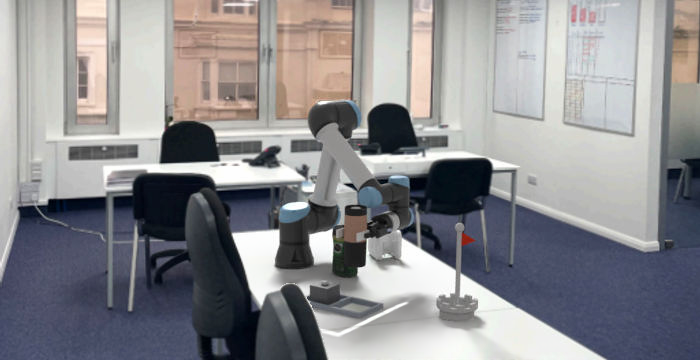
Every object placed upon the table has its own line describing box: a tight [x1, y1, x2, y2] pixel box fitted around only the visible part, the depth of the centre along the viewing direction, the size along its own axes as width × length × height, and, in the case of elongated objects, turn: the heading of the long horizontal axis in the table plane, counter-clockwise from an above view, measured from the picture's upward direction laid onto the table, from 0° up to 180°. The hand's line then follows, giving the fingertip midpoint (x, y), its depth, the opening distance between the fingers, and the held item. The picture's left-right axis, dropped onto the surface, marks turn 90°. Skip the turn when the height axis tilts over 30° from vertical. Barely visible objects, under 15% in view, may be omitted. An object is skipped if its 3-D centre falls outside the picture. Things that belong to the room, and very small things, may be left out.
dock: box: [305, 293, 384, 320], centre depth 263 cm, size 25×13×2 cm, turn 55°
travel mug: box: [343, 204, 368, 269], centre depth 272 cm, size 8×8×20 cm
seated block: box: [309, 279, 341, 305], centre depth 265 cm, size 7×7×7 cm
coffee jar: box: [331, 223, 359, 278], centre depth 300 cm, size 10×8×19 cm
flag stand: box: [436, 222, 479, 322], centre depth 255 cm, size 13×13×30 cm
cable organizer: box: [367, 230, 403, 261], centre depth 326 cm, size 15×11×12 cm
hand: (347, 235), depth 268 cm, fingers closed on travel mug, 7 cm apart
